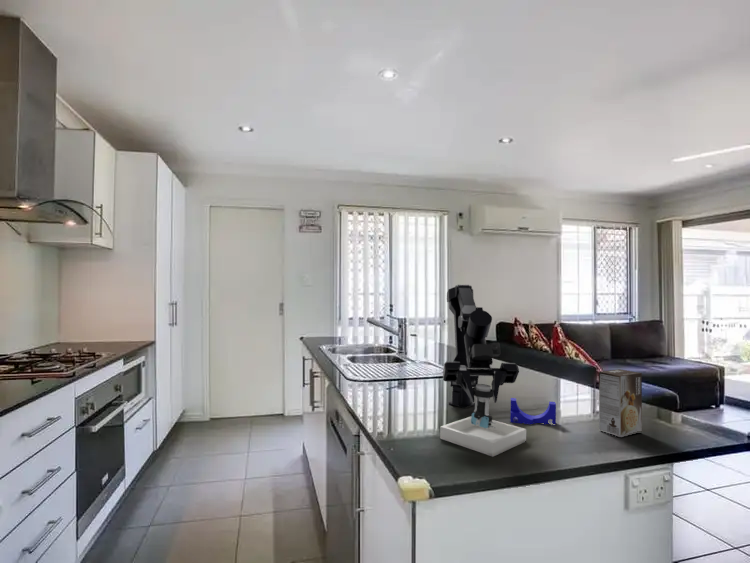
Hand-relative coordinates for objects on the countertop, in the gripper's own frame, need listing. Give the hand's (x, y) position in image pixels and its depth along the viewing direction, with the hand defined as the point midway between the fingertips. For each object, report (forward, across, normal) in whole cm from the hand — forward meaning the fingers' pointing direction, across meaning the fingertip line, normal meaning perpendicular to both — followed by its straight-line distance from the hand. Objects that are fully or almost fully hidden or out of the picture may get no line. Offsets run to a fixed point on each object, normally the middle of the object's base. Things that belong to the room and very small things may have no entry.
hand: (484, 401), depth 105 cm
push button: (+4, 0, +6) cm, 7 cm away
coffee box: (0, +38, +14) cm, 41 cm away
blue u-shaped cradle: (-4, +17, +19) cm, 26 cm away
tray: (+6, 0, +8) cm, 10 cm away
